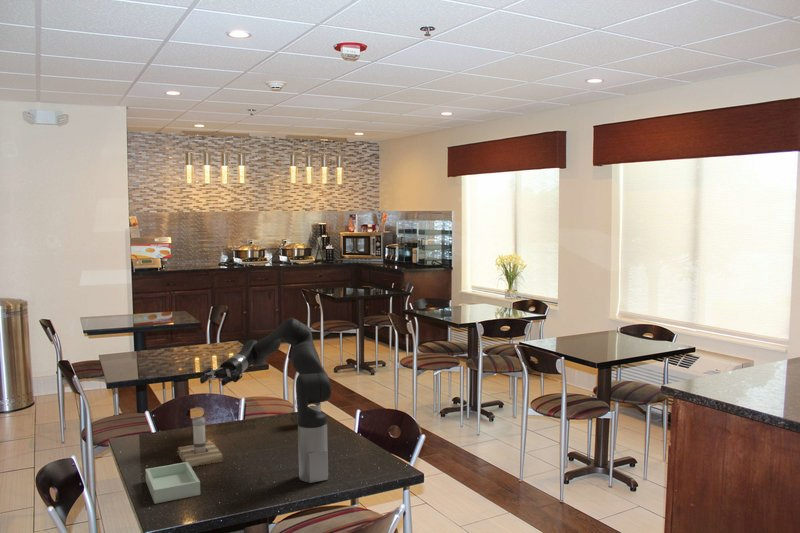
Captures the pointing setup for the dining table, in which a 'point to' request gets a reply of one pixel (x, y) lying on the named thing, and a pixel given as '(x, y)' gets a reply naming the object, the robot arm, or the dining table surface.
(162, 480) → the parts tray
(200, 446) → the fuse
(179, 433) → the dining table surface
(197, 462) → the fuse holder
